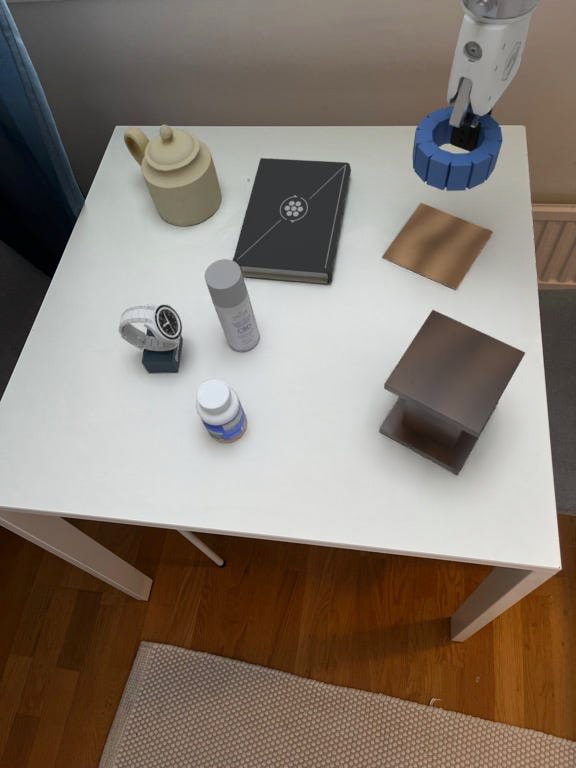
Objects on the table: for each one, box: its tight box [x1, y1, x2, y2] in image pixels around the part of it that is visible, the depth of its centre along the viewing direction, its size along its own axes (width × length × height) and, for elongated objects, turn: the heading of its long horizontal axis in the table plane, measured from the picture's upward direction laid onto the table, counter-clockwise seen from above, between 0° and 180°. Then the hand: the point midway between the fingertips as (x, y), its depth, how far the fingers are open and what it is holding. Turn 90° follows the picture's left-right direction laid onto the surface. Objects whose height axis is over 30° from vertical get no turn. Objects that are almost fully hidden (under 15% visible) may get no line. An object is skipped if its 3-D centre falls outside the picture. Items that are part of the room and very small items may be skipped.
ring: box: [411, 105, 504, 192], centre depth 71 cm, size 10×10×4 cm
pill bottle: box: [195, 378, 248, 443], centre depth 73 cm, size 5×5×10 cm
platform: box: [379, 309, 526, 476], centre depth 68 cm, size 11×11×14 cm
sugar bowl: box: [123, 124, 222, 227], centre depth 89 cm, size 15×11×15 cm
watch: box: [118, 303, 184, 374], centre depth 78 cm, size 6×8×11 cm
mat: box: [381, 202, 494, 291], centre depth 86 cm, size 12×12×1 cm
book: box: [232, 157, 352, 286], centre depth 90 cm, size 22×15×3 cm
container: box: [204, 258, 261, 353], centre depth 76 cm, size 5×5×15 cm
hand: (468, 138), depth 73 cm, fingers closed on ring, 2 cm apart
